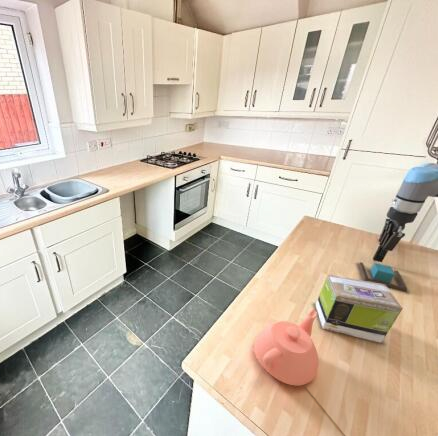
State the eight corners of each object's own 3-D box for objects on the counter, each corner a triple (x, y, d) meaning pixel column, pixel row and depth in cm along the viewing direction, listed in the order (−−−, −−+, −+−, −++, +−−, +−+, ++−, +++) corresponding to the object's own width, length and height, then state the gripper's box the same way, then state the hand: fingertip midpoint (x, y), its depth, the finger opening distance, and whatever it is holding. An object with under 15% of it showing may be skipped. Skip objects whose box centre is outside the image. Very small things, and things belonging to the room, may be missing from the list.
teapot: (280, 321, 78) (290, 293, 72) (332, 359, 67) (348, 330, 61) (235, 358, 68) (242, 329, 62) (287, 410, 57) (302, 381, 51)
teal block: (369, 272, 97) (374, 262, 95) (385, 276, 95) (391, 266, 93) (372, 280, 93) (377, 270, 91) (388, 284, 91) (395, 274, 89)
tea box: (366, 317, 79) (387, 283, 72) (380, 344, 70) (405, 309, 63) (313, 305, 83) (328, 272, 76) (321, 330, 75) (337, 295, 68)
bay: (357, 265, 101) (359, 262, 100) (395, 274, 96) (398, 271, 95) (363, 282, 93) (365, 278, 92) (405, 293, 87) (407, 289, 86)
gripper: (385, 201, 96) (362, 249, 107) (396, 214, 86) (369, 266, 97) (411, 204, 92) (384, 254, 104) (425, 219, 82) (393, 272, 94)
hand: (377, 260), depth 100 cm, fingers closed
